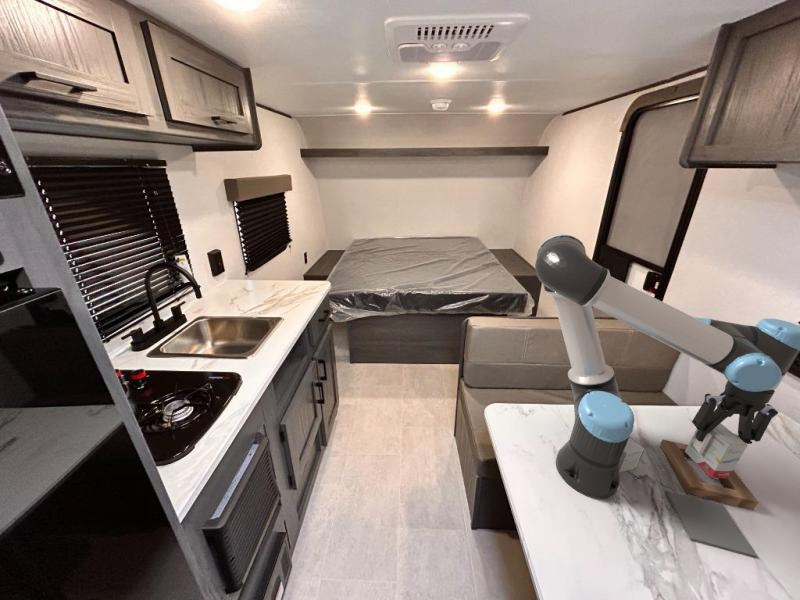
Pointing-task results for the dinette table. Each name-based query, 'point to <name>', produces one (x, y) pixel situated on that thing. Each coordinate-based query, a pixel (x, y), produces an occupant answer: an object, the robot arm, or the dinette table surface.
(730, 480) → the wooden holder frame
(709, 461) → the ink box
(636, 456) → the product box
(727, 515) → the mat
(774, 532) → the dinette table surface
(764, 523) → the dinette table surface
